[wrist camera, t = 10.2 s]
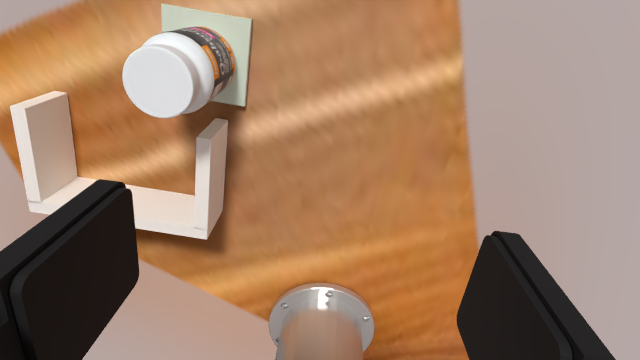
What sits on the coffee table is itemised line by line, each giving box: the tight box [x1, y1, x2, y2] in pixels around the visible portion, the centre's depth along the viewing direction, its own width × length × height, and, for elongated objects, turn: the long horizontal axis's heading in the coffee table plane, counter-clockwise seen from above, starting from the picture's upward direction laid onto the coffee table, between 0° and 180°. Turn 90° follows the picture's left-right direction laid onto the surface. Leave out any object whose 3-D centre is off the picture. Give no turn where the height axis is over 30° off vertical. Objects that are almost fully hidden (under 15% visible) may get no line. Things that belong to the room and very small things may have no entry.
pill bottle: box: [123, 26, 236, 118], centre depth 30 cm, size 6×6×10 cm
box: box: [10, 91, 228, 240], centre depth 37 cm, size 10×16×6 cm, turn 81°
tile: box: [161, 4, 253, 107], centre depth 34 cm, size 8×8×1 cm
